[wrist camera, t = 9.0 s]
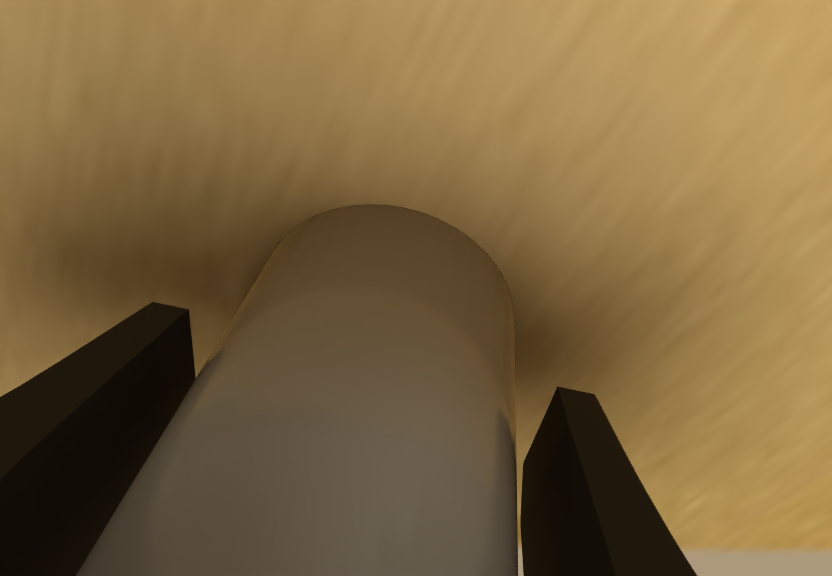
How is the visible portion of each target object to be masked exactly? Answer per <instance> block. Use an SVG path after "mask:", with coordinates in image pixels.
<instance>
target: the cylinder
mask: <svg viewBox="0 0 832 576" xmlns="http://www.w3.org/2000/svg"><path fill="white" fill-rule="evenodd" d="M76 576H518V543H517V474H516V405H515V337H514V310H513V303H512V299H511V295H510V291H509V289H508V286H507V284H506V282H505V279H504V277H503V275H502V274H501V272H500V271H499V269H498V268H497V266H496V264H495V263H494V262H493V261H492V259H491V258H490V257H489V256H488V255H487V253H486V252H485V251H484V250H483V249H482V248H481V247H480V246H478V245H477V244H476V243H475V242H474V241H473V240H472V239H471V238H469V237H468V236H466V235H465V234H463V233H462V232H461V231H459V230H458V229H456V228H454V227H453V226H451V225H449V224H447V223H445V222H443V221H441V220H439V219H437V218H434V217H432V216H429V215H427V214H424V213H421V212H417V211H414V210H410V209H406V208H401V207H394V206H387V205H357V206H348V207H343V208H339V209H334V210H330V211H328V212H325V213H322V214H319V215H317V216H314V217H313V218H311V219H309V220H307V221H305V222H303V223H301V224H300V225H299V226H297V227H296V228H295V229H293V230H292V231H291V232H289V233H288V235H287V236H286V237H285V238H284V239H283V240H282V241H281V242H280V243H279V244H278V246H277V247H276V249H275V250H274V252H273V253H272V254H271V256H270V258H269V259H268V261H267V263H266V264H265V266H264V268H263V269H262V271H261V273H260V274H259V276H258V277H257V279H256V281H255V282H254V284H253V286H252V287H251V289H250V291H249V292H248V294H247V295H246V297H245V299H244V300H243V302H242V304H241V305H240V307H239V309H238V310H237V312H236V314H235V315H234V317H233V318H232V320H231V322H230V323H229V325H228V327H227V328H226V330H225V332H224V333H223V335H222V337H221V338H220V340H219V341H218V343H217V345H216V346H215V348H214V350H213V351H212V353H211V355H210V356H209V358H208V360H207V361H206V363H205V364H204V366H203V368H202V369H201V371H200V373H199V374H198V376H197V378H196V379H195V381H194V382H193V384H192V386H191V387H190V389H189V391H188V392H187V394H186V396H185V397H184V399H183V401H182V402H181V404H180V405H179V407H178V409H177V410H176V412H175V414H174V415H173V417H172V419H171V420H170V422H169V424H168V425H167V427H166V428H165V430H164V432H163V433H162V435H161V437H160V438H159V440H158V442H157V443H156V445H155V447H154V448H153V450H152V451H151V453H150V455H149V456H148V458H147V460H146V461H145V463H144V465H143V466H142V468H141V469H140V471H139V473H138V474H137V476H136V478H135V479H134V481H133V483H132V484H131V486H130V488H129V489H128V491H127V492H126V494H125V496H124V497H123V499H122V501H121V502H120V504H119V506H118V507H117V509H116V511H115V512H114V514H113V515H112V517H111V519H110V520H109V522H108V524H107V525H106V527H105V529H104V530H103V532H102V534H101V535H100V537H99V538H98V540H97V542H96V543H95V545H94V547H93V548H92V550H91V552H90V553H89V555H88V556H87V558H86V560H85V561H84V563H83V565H82V566H81V568H80V570H79V571H78V573H77V575H76Z"/></svg>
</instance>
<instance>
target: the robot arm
mask: <svg viewBox="0 0 832 576" xmlns="http://www.w3.org/2000/svg"><path fill="white" fill-rule="evenodd" d="M195 379H196V377H195V367H194V357H193V347H192V337H191V327H190V317H189V310H188V309H183V308H179V307H174V306H169V305H164V304H160V303H155V302H152V303H150V304H149V305H147V306H146V307H144V308H142V309H141V310H139V311H138V312H136V313H134V314H133V315H131V316H130V317H128V318H127V319H125V320H123V321H122V322H120V323H119V324H117V325H116V326H114V327H113V328H111V329H109V330H108V331H106V332H105V333H103V334H102V335H100V336H99V337H97V338H95V339H94V340H92V341H91V342H89V343H88V344H86V345H85V346H83V347H81V348H80V349H78V350H77V351H75V352H74V353H72V354H70V355H69V356H67V357H66V358H64V359H62V360H61V361H59V362H58V363H56V364H54V365H53V366H51V367H50V368H48V369H46V370H45V371H43V372H41V373H40V374H38V375H37V376H35V377H33V378H32V379H30V380H29V381H27V382H25V383H24V384H22V385H20V386H19V387H17V388H15V389H13V390H12V391H10V392H8V393H6V394H5V395H3V396H1V397H0V576H76V575H77V573H78V571H79V570H80V568H81V566H82V565H83V563H84V561H85V560H86V558H87V556H88V555H89V553H90V552H91V550H92V548H93V547H94V545H95V543H96V542H97V540H98V538H99V537H100V535H101V534H102V532H103V530H104V529H105V527H106V525H107V524H108V522H109V520H110V519H111V517H112V515H113V514H114V512H115V511H116V509H117V507H118V506H119V504H120V502H121V501H122V499H123V497H124V496H125V494H126V492H127V491H128V489H129V488H130V486H131V484H132V483H133V481H134V479H135V478H136V476H137V474H138V473H139V471H140V469H141V468H142V466H143V465H144V463H145V461H146V460H147V458H148V456H149V455H150V453H151V451H152V450H153V448H154V447H155V445H156V443H157V442H158V440H159V438H160V437H161V435H162V433H163V432H164V430H165V428H166V427H167V425H168V424H169V422H170V420H171V419H172V417H173V415H174V414H175V412H176V410H177V409H178V407H179V405H180V404H181V402H182V401H183V399H184V397H185V396H186V394H187V392H188V391H189V389H190V387H191V386H192V384H193V382H194V381H195ZM521 539H522V555H523V572H524V576H697V575H696V573H695V572H694V570H693V569H692V567H691V565H690V564H689V562H688V561H687V559H686V558H685V556H684V554H683V553H682V551H681V549H680V548H679V546H678V544H677V543H676V541H675V540H674V538H673V536H672V535H671V533H670V531H669V530H668V528H667V526H666V524H665V523H664V521H663V519H662V518H661V516H660V514H659V512H658V511H657V509H656V507H655V505H654V504H653V502H652V500H651V499H650V497H649V495H648V493H647V492H646V490H645V488H644V486H643V484H642V483H641V481H640V479H639V477H638V475H637V474H636V472H635V470H634V468H633V466H632V464H631V462H630V461H629V459H628V457H627V455H626V453H625V451H624V449H623V447H622V445H621V444H620V442H619V440H618V438H617V436H616V434H615V432H614V430H613V428H612V426H611V424H610V422H609V420H608V419H607V417H606V415H605V413H604V411H603V409H602V407H601V405H600V403H599V401H598V400H597V398H596V396H595V395H594V394H591V393H586V392H581V391H576V390H571V389H567V388H562V387H557V389H556V391H555V394H554V396H553V398H552V400H551V402H550V405H549V407H548V409H547V411H546V414H545V416H544V418H543V420H542V423H541V425H540V427H539V429H538V431H537V434H536V436H535V438H534V440H533V443H532V445H531V447H530V449H529V452H528V454H527V456H526V458H525V460H524V463H523V480H522V498H521Z"/></svg>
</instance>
